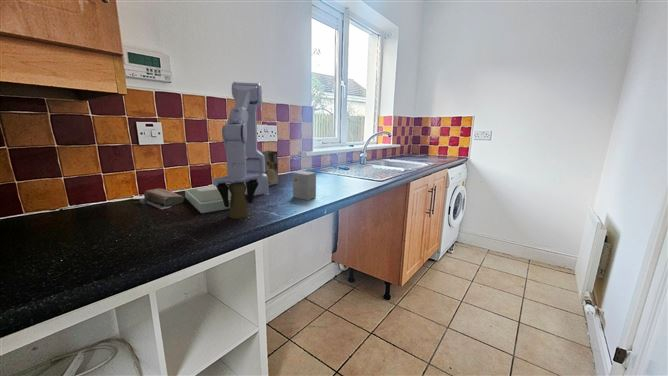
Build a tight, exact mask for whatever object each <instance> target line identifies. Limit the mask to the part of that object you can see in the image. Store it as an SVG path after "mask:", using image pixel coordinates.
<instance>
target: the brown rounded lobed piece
mask: <svg viewBox="0 0 668 376" xmlns="http://www.w3.org/2000/svg"><path fill="white" fill-rule="evenodd" d="M228 188H229V191H230V192H231V202H230V209H229V214H228V215H229V218H230V219H234V220H236V219H245V218H247V217H249V210H248V204H247V203H248V202H247V197H246V195H245V191H246V185H245V184H244V182H239V183H230V184H229V187H228Z"/></svg>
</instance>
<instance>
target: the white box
mask: <svg viewBox="0 0 668 376" xmlns="http://www.w3.org/2000/svg"><path fill="white" fill-rule="evenodd" d="M194 189H195V191H196V199H198V200H199V201H200V202H205V201H211V200H218V199H222V196H221V194H220V192H219V191H218V189H217V187H216V186H214V185H211V186H210V185H209V186H201V187H195V188H194Z"/></svg>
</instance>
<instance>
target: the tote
mask: <svg viewBox="0 0 668 376" xmlns="http://www.w3.org/2000/svg"><path fill="white" fill-rule="evenodd" d="M184 194H185V196H184V198H185V199H186V200H187V201H188V202H189V203H190V204H191V205H192V206H193V207H194V208H195V209H196V210H197V211H198V212H200V214H205V213H212V212H217V211H223V210H230V202H231V192H230V191H229V190H228V201H229V207H225V206H224V202H223V199H218V200H211V201H205V202H200V201H199V200H198V199H196V191H195V188H192V189H191V188H190V189H185V190H184Z"/></svg>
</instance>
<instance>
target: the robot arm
mask: <svg viewBox="0 0 668 376" xmlns="http://www.w3.org/2000/svg"><path fill="white" fill-rule="evenodd" d="M262 91H263V90H262V85H261V83H260V82H242V81H241V82H238V81H233V83H232V84H231V96H232V98H233V99H234V101H235V104H234V107H232V108H231V109H230V112H229V115H228V118H227V122H226V123H225V125H224V124H223V126H222V129H221V136H222V137H221V138H222V141H223V147H224V149H225V154H226V155H225V156H226V173H227V174H226V176H219V177H213V178H212V186H216V187H217V189H218V191H219V192H220V194H221V196H222V199H223V202H224V206H225V207H229V201H228V190H229V187H228V185H230V184H232V183H239V182H241V183H244V184H245V185H246V191H245V196H246V202H247V203H249V204H253V199H254V196H260V195H265V196H270V195H271V194H270V192H269V191H270V189H269V183H268V177H267V175H266V174H265V173H264V172H265V156H264V154H263V153H261V152H260V151H261V150H259V149H258V128H257V127H258V126H257V125H258V122H257V121H258V119H257V113H258V112H257V111H258V108H260V107H262V103H263V96H262ZM227 184H228V185H227Z"/></svg>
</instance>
